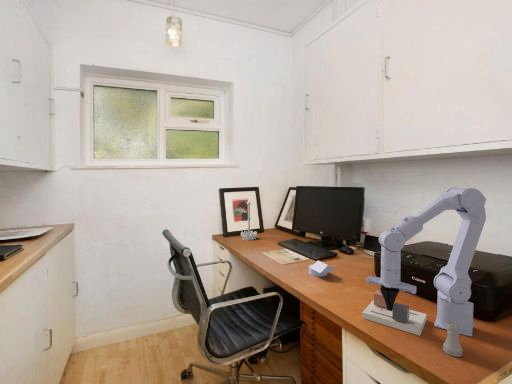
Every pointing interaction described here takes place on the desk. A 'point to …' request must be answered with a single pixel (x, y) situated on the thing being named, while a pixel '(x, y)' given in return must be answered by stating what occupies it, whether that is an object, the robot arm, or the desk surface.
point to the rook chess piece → (452, 340)
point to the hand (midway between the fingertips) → (390, 309)
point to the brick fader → (379, 299)
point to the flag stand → (250, 234)
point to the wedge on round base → (319, 269)
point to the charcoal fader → (400, 312)
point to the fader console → (385, 318)
